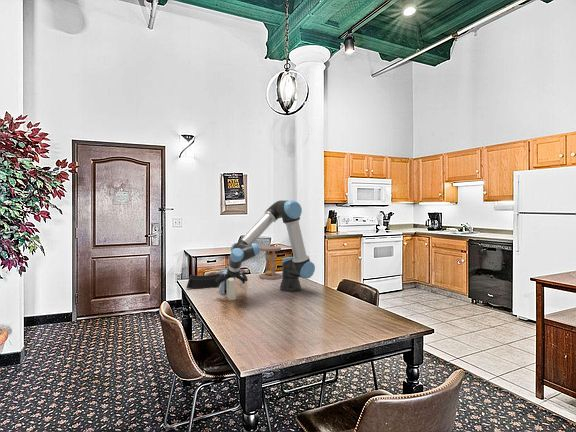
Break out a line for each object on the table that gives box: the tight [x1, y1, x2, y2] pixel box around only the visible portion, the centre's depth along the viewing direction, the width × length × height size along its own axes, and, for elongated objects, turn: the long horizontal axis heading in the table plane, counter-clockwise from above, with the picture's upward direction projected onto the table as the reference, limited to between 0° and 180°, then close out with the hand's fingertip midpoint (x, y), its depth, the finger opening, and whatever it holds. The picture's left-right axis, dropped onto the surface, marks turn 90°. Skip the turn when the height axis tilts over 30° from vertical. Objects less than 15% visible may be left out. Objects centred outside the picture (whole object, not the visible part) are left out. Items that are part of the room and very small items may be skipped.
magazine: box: [186, 272, 220, 290], centre depth 263 cm, size 17×3×30 cm
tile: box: [225, 278, 237, 301], centre depth 236 cm, size 13×4×12 cm, turn 18°
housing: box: [219, 268, 236, 296], centre depth 250 cm, size 14×8×14 cm, turn 18°
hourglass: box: [259, 245, 282, 281], centre depth 301 cm, size 18×18×25 cm
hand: (230, 286), depth 238 cm, fingers open, 13 cm apart
